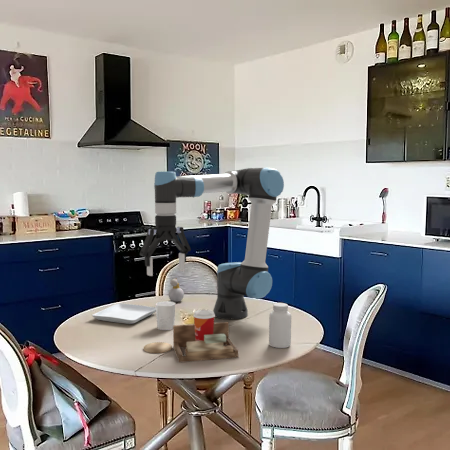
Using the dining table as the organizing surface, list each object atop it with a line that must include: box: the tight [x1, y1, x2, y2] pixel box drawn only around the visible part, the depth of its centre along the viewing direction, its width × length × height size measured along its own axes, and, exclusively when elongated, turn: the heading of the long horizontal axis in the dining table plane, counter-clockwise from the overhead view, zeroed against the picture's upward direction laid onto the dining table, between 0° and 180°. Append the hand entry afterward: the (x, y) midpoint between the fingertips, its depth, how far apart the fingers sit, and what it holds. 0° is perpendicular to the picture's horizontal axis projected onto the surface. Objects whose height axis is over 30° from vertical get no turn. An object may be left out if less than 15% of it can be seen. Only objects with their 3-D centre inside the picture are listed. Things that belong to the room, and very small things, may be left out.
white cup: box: [155, 300, 176, 331], centre depth 207 cm, size 8×8×10 cm
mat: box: [143, 341, 173, 354], centre depth 183 cm, size 10×10×1 cm
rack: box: [172, 321, 239, 363], centre depth 179 cm, size 20×15×8 cm
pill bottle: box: [268, 302, 292, 349], centre depth 186 cm, size 8×8×15 cm
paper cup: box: [192, 309, 216, 341], centre depth 180 cm, size 8×8×14 cm
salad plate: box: [91, 302, 156, 325], centre depth 222 cm, size 21×21×3 cm
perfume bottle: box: [168, 277, 185, 303], centre depth 249 cm, size 8×10×12 cm
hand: (166, 273), depth 187 cm, fingers open, 13 cm apart
